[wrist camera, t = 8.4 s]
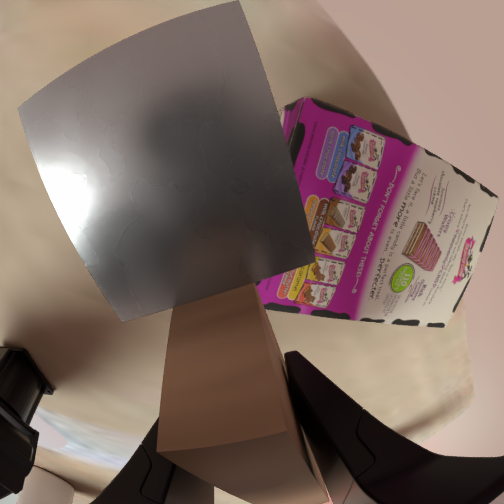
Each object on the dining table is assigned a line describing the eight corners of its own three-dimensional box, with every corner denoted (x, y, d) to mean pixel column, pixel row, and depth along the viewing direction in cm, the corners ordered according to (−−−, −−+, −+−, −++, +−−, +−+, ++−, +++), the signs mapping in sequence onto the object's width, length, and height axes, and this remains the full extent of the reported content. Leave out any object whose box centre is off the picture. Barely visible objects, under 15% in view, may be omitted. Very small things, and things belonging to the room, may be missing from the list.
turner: (339, 409, 13) (367, 488, 9) (231, 438, 13) (240, 518, 9) (236, 8, 5) (276, -125, 1) (29, 106, 5) (-114, 141, 1)
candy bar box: (236, 267, 20) (415, 301, 23) (240, 307, 15) (446, 332, 18) (282, 102, 16) (461, 184, 19) (304, 90, 11) (503, 199, 14)
